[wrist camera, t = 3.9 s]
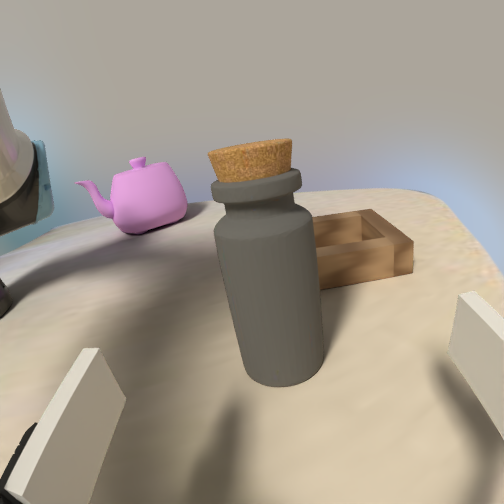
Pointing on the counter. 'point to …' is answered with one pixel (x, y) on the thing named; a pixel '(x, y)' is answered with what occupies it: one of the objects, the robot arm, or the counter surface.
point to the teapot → (142, 197)
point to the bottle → (268, 262)
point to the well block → (359, 248)
